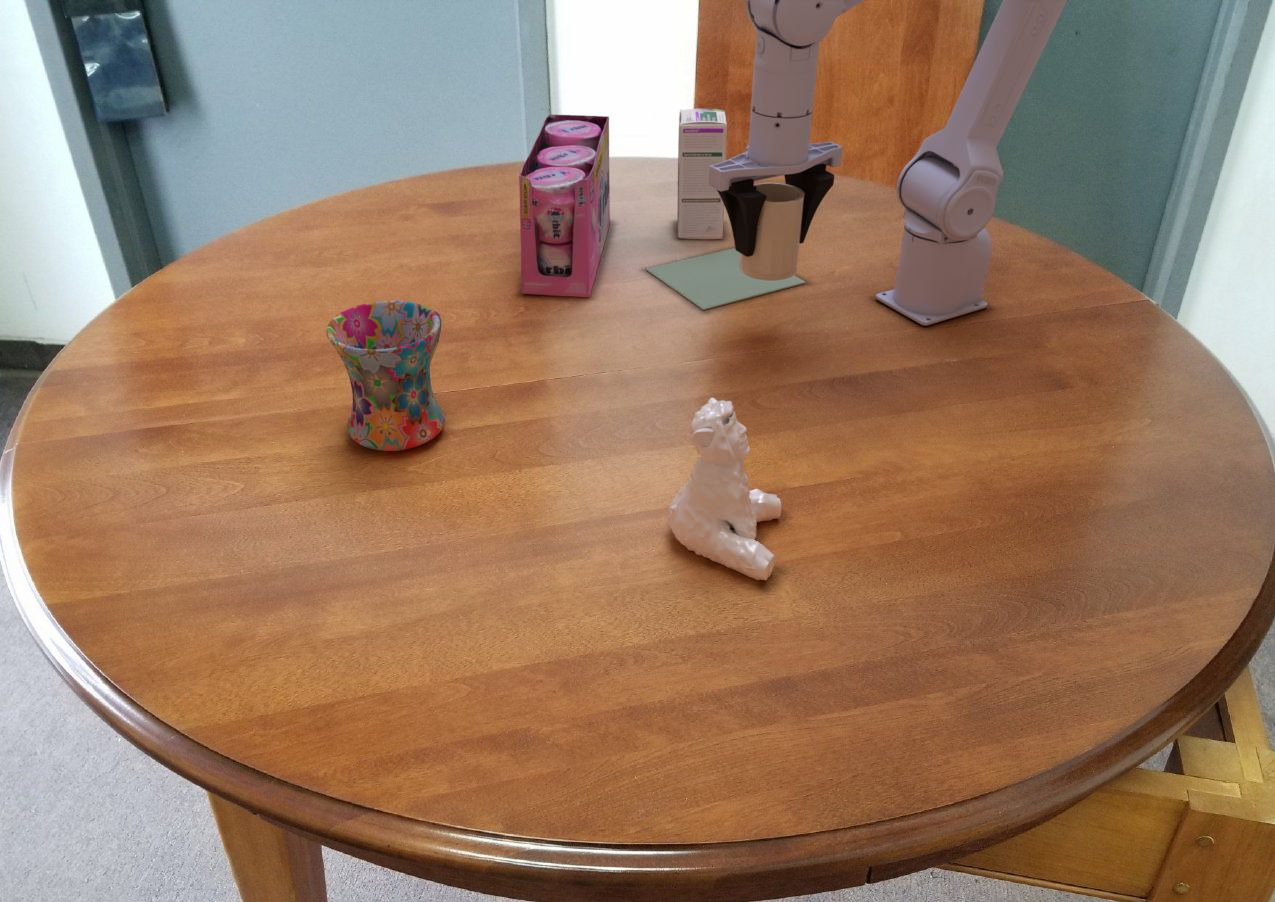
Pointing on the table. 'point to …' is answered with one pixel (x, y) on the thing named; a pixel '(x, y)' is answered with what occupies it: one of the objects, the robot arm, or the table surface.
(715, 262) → the mat
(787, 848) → the table surface
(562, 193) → the gum box
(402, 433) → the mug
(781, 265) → the cup
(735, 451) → the seated beast figurine
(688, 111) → the syrup box
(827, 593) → the table surface
